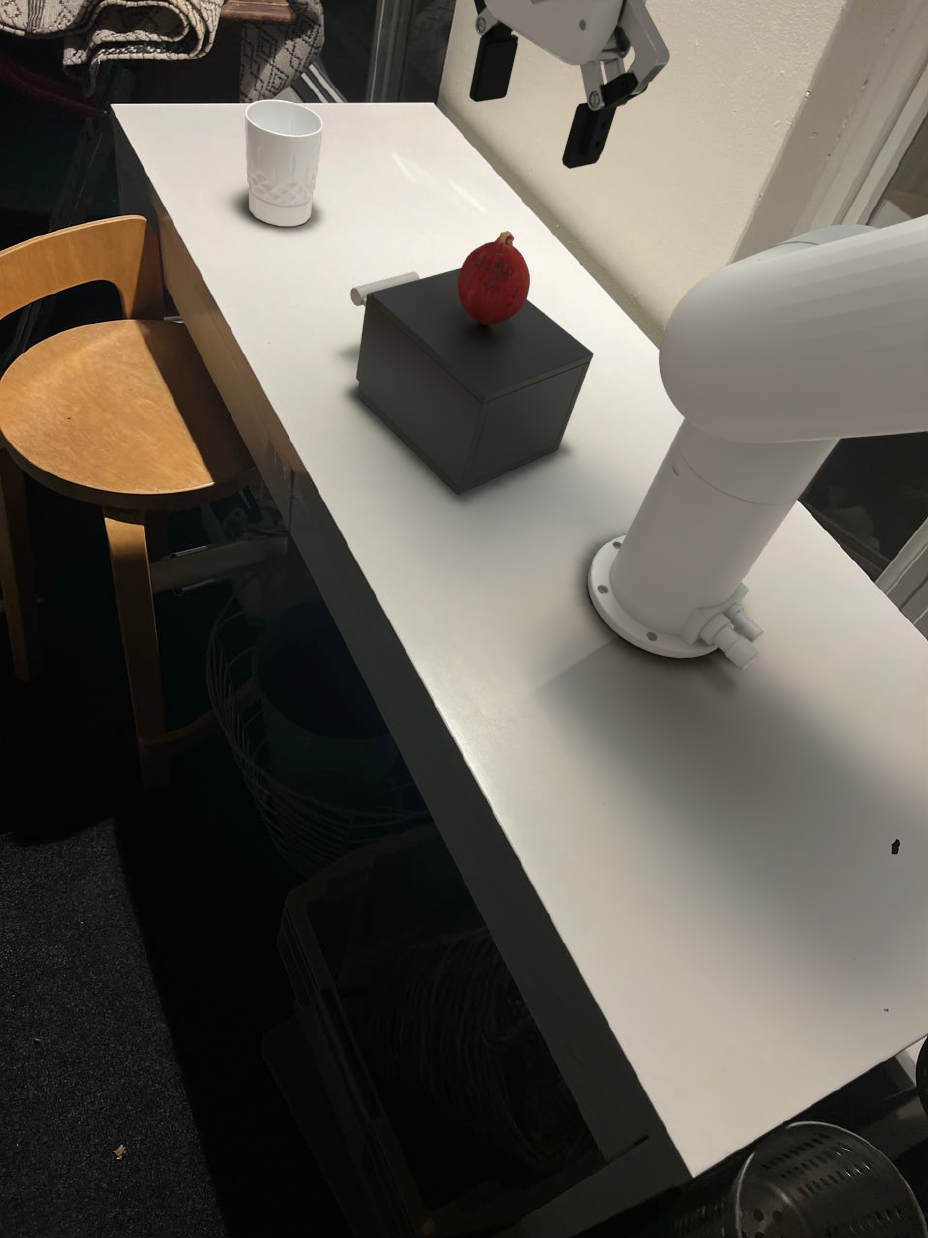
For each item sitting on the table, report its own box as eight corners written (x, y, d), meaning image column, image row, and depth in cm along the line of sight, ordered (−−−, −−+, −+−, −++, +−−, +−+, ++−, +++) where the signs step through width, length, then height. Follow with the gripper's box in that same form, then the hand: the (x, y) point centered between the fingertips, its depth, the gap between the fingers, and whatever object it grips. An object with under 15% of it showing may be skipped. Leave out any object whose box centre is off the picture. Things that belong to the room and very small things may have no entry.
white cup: (328, 225, 100) (337, 132, 92) (263, 234, 96) (266, 138, 89) (295, 189, 103) (301, 96, 96) (231, 196, 100) (231, 101, 92)
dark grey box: (356, 395, 83) (370, 292, 75) (459, 359, 89) (482, 262, 81) (457, 494, 77) (484, 395, 69) (558, 448, 84) (594, 353, 76)
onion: (510, 353, 73) (536, 263, 67) (442, 332, 73) (462, 240, 67) (522, 315, 77) (547, 227, 71) (457, 296, 77) (477, 205, 71)
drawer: (325, 349, 85) (333, 263, 78) (418, 320, 91) (434, 238, 84) (448, 468, 78) (468, 385, 71) (540, 428, 84) (567, 348, 77)
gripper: (462, -241, 52) (414, 80, 65) (682, -131, 45) (580, 201, 58) (553, -230, 56) (491, 70, 69) (767, -128, 49) (654, 182, 62)
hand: (532, 130), depth 63 cm, fingers open, 9 cm apart
